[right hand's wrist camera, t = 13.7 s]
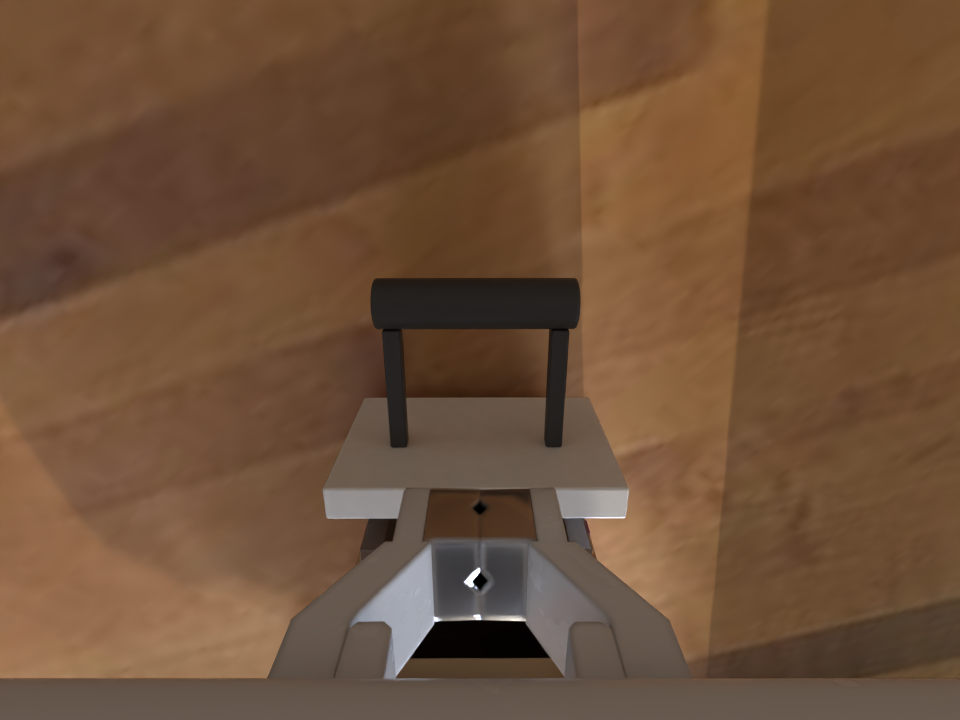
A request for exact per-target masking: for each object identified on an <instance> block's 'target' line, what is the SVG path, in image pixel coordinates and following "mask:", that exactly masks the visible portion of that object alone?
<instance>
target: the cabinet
mask: <svg viewBox="0 0 960 720" xmlns="http://www.w3.org/2000/svg"><path fill="white" fill-rule="evenodd" d="M585 525H586V529H587V532H588V536H589V539H590V543H591V546H592V556H593V557H594V558H595V559H596V560H597V558H596V555H595V551H594V548H593V544H592V541H591V537H590V531H589V528H588V524H587V521H585ZM366 528H367V527H366ZM360 562H361V556H360V553H359V557H358V560H357V563H356V565H357V564H359V563H360ZM396 678H564V676H563V674H562V673H561V672H560V670H559V669H558V667H557V666H556V665H555V663H554V662H553V661H552V659H551V658H409V660H408V661H407V662H406V664H405V665H404V666H403V668H402V669H401V671H400V672H399V673H398V675H397V676H396Z"/></svg>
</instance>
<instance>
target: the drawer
mask: <svg viewBox="0 0 960 720" xmlns="http://www.w3.org/2000/svg"><path fill="white" fill-rule="evenodd" d="M371 315H372V321H373V324H374V327H375V328H376V329H383V331H382V337H383V351H384V364H385V378H386V391H387V398H364V400H363V403H362V405H361V407H360V409H359V411H358V413H357V416H356V418H355V420H354V422H353V424H352V426H351V429H350V431H349V433H348V435H347V437H346V439H345V442H344V444H343V446H342V448H341V450H340V452H339V455H338V457H337V459H336V461H335V463H334V465H333V468H332V470H331V472H330V474H329V476H328V478H327V481H326V483H325V485H324V487H323V497H324V505H325V512H326V517H327V518H328V519H361V518H369V521H368V524H367V528H366V531H365V535H364V538H363V541H362V545H361V548H360V556H361V561H362V560H364V559H365V558H366V557H367V556H368V555H370V554H371V553H372V552H373V551H374V550H376V549H377V548H378V547H379V546H380V545H382V544H383V543H384V542H392V541H393V537H394V532H395V528H396V523H397V519H398V515H399V510H400V506H401V501H402V497H403V492H404V490H405V489H406V488H470V489H529V488H546V487H553V488H554V489H555V490H556V493H557V497H558V502H559V506H560V511H561V515H562V519H563V524H564V528H565V533H566V537H567V541H568V542H576V543H577V544H578V545H580V546H581V547H582V548H583V549H584V550H586V551H587V552H588V553H589V554H590V555H592V546H591V543H590V539H589V536H588V532H587V529H586V525H585V521H584V518H625V517H626V511H627V503H628V495H629V487H628V485H627V483H626V480H625V478H624V476H623V474H622V471H621V469H620V467H619V465H618V462H617V460H616V458H615V456H614V453H613V451H612V449H611V447H610V444H609V442H608V440H607V437H606V435H605V433H604V431H603V428H602V426H601V424H600V422H599V419H598V417H597V415H596V413H595V410H594V408H593V406H592V403H591V401H590V399H589V398H588V397H565V390H566V375H567V359H568V344H569V330H568V329H574V328H576V327H577V324H578V321H579V315H580V289H579V284H578V281H577V279H575V278H377V279H375V280H374V281H373V284H372V288H371ZM402 329H549V347H548V367H547V387H546V397H543V398H406V386H405V369H404V352H403V335H402ZM410 658H550V656H549V655H548V654H547V652H546V651H545V650H544V648H543V647H542V645H541V644H540V643H539V641H538V640H537V639H536V637H535V636H534V634H533V633H532V632H531V630H530V629H529V627H528V626H527V625H526V621H499V620H460V621H434V625H433V627H432V628H431V629H430V631H429V632H428V634H427V635H426V636H425V638H424V639H423V640H422V642H421V643H420V644H419V646H418V647H417V649H416V650H415V651H414V653H413V654H412V655H411V657H410Z"/></svg>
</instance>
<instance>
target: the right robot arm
mask: <svg viewBox="0 0 960 720" xmlns="http://www.w3.org/2000/svg"><path fill="white" fill-rule="evenodd" d="M460 620H499V621H526V625H527V626H528V627H529V629H530V630H531V632H532V633H533V634H534V636H535V637H536V639H537V640H538V641H539V643H540V644H541V645H542V647H543V648H544V650H545V651H546V652H547V654H548V655H549V656H550V658H551V659H552V661H553V662H554V663H555V665H556V666H557V667H558V669H559V670H560V672H561V673H562V674H563V676H564V678H396V676H397V675H398V673H399V672H400V671H401V669H402V668H403V666H404V665H405V664H406V662H407V661H408V660H409V658H410V657H411V655H412V654H413V653H414V651H415V650H416V649H417V647H418V646H419V644H420V643H421V642H422V640H423V639H424V638H425V636H426V635H427V634H428V632H429V631H430V629H431V628H432V627H433V625H434V621H460ZM0 720H960V678H692V675H691V673H690V670H689V668H688V665H687V663H686V660H685V658H684V655H683V653H682V650H681V648H680V646H679V643H678V641H677V638H676V636H675V633H674V631H673V628H672V626H671V623H670V621H669V619H667V618H666V617H665V616H664V615H663V614H661V613H660V612H659V611H658V610H657V609H655V608H654V607H653V606H652V605H651V604H649V603H648V602H647V601H646V600H645V599H643V598H642V597H641V596H640V595H639V594H637V593H636V592H635V591H634V590H633V589H631V588H630V587H629V586H628V585H627V584H625V583H624V582H623V581H622V580H620V579H619V578H618V577H617V576H616V575H614V574H613V573H612V572H611V571H610V570H608V569H607V568H606V567H605V566H604V565H602V564H601V563H600V562H599V561H598V560H596V559H595V558H594V557H593V556H592V555H590V554H589V553H588V552H587V551H586V550H584V549H583V548H582V547H581V546H580V545H578V544H577V543H576V542H568V541H567V537H566V533H565V528H564V524H563V519H562V515H561V511H560V506H559V502H558V497H557V493H556V490H555V489H554V488H553V487H546V488H529V489H470V488H406V489H405V490H404V492H403V497H402V501H401V506H400V510H399V515H398V519H397V523H396V528H395V532H394V537H393V541H392V542H384V543H383V544H382V545H380V546H379V547H378V548H377V549H376V550H374V551H373V552H372V553H371V554H370V555H368V556H367V557H366V558H365V559H364V560H362V561H361V562H360V563H359V564H357V565H356V566H355V567H354V568H353V569H351V570H350V571H349V572H348V573H347V574H345V575H344V576H343V577H342V578H341V579H339V580H338V581H337V582H336V583H334V584H333V585H332V586H331V587H330V588H328V589H327V590H326V591H325V592H324V593H322V594H321V595H320V596H319V597H318V598H316V599H315V600H314V601H313V602H311V603H310V604H309V605H308V606H307V607H305V608H304V609H303V610H302V611H301V612H299V613H298V614H297V615H296V616H295V617H293V618H292V619H291V621H290V624H289V626H288V629H287V631H286V634H285V636H284V638H283V641H282V643H281V646H280V648H279V651H278V653H277V656H276V658H275V661H274V663H273V665H272V668H271V670H270V673H269V675H268V678H0Z"/></svg>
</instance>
